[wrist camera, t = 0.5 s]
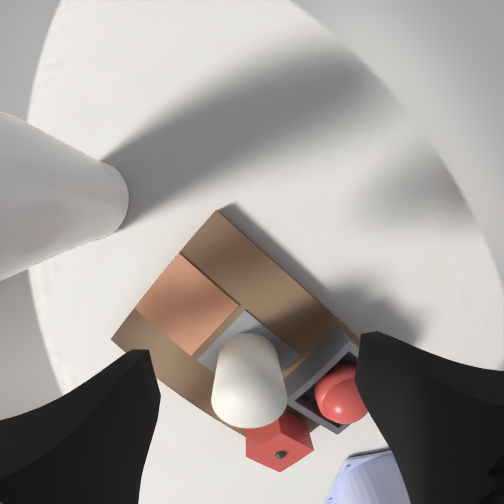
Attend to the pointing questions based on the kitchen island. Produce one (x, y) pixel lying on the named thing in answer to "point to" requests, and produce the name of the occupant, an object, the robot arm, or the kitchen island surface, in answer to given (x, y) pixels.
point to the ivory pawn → (248, 382)
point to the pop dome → (339, 395)
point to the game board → (222, 313)
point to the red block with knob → (279, 442)
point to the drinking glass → (51, 197)
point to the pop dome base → (319, 376)
